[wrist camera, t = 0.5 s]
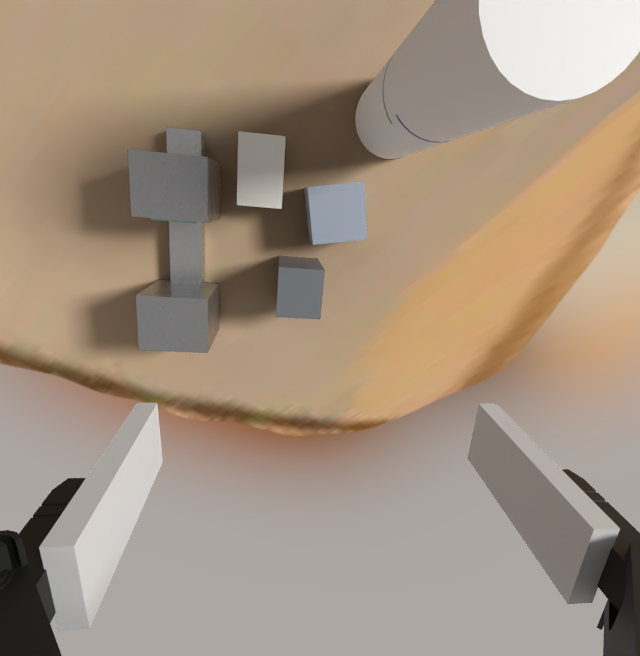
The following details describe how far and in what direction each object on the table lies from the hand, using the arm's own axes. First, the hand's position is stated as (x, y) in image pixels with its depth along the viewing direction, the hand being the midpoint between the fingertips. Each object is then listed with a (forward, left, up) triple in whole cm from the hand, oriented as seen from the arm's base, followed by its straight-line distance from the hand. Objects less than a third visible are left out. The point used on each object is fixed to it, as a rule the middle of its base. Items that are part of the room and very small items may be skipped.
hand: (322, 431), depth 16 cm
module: (-1, 0, -28) cm, 28 cm away
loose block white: (-11, -4, -28) cm, 30 cm away
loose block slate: (-8, +3, -28) cm, 29 cm away
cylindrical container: (-17, +8, -28) cm, 33 cm away
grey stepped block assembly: (-4, -11, -28) cm, 30 cm away
